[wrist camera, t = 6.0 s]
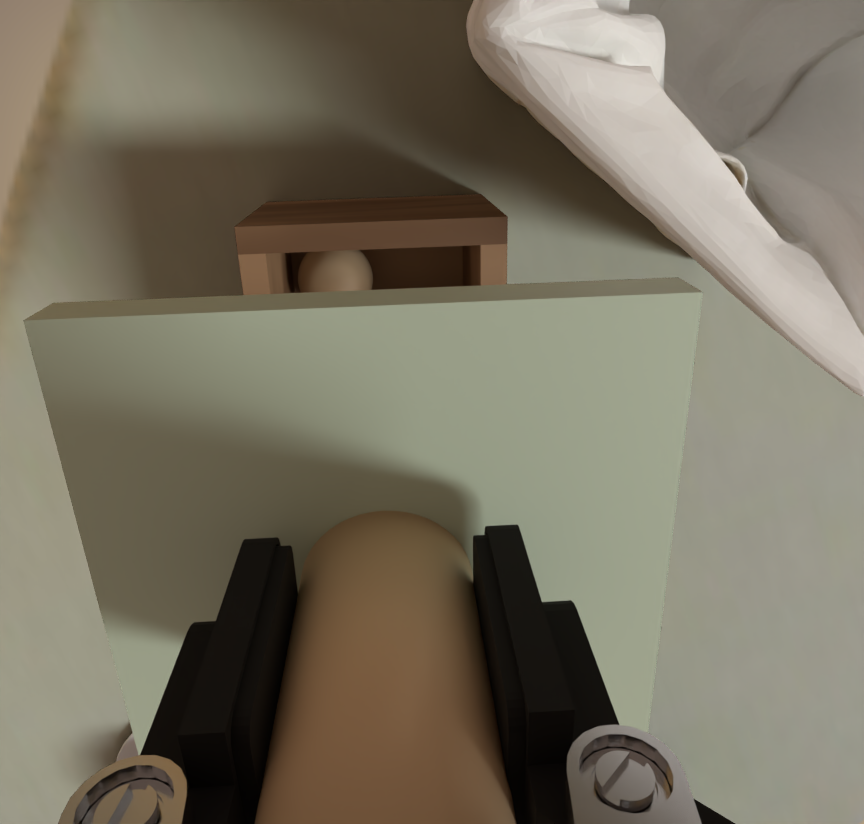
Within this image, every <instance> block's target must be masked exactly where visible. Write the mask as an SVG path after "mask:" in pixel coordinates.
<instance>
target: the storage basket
mask: <svg viewBox="0 0 864 824" xmlns="http://www.w3.org/2000/svg"><path fill="white" fill-rule="evenodd" d="M466 29H467V37H468V44H469V47H470V50H471V53H472V55H473V58H474V59H475V60H476V62H477V63H478V64H479V66H480V67H481V68H482V70H483V71H484V72H485V74H486V75H487V76H488V78H489V79H490V80H491V81H492V82H493V83H494V84H495V85H496V86H498V87H499V88H500V89H501V90H502V91H503V92H504V93H505V94H506V95H508V96H509V97H510V98H511V99H512V100H514V101H515V102H516V103H518V104H520V105H522V106H524V107H526V109H527V111H528V112H529V113H530V114H531V115H532V116H533V118H534V119H535V120H536V121H537V122H538V123H539V124H540V125H542V126H543V127H544V128H545V129H546V130H547V131H549V132H550V133H551V134H552V135H553V136H554V137H556V138H557V139H559V140H560V141H561V142H562V143H563V144H564V145H565V146H566V147H567V148H568V149H569V150H570V151H571V152H572V154H573V155H574V156H575V157H577V158H578V159H579V160H580V161H581V162H582V163H583V164H584V165H585V166H586V167H587V168H589V169H590V170H591V171H593V172H594V173H595V174H596V175H598V176H599V177H600V178H602V179H603V180H605V181H606V182H607V183H608V184H609V185H610V186H611V187H612V188H613V189H614V190H615V191H616V192H617V193H618V194H619V195H620V196H621V197H623V198H624V199H625V200H626V201H627V202H628V203H629V204H630V205H632V206H633V207H634V208H635V209H637V210H638V211H639V212H640V213H641V214H643V215H644V216H645V217H646V218H648V219H649V220H650V221H651V222H652V223H653V224H654V225H655V226H656V228H657V229H658V230H659V232H661V233H662V234H663V235H664V236H665V237H666V238H668V239H669V240H671V241H672V242H673V243H675V244H677V245H678V246H680V247H681V248H682V249H683V250H684V251H686V252H687V253H688V254H689V255H690V256H691V257H692V258H693V259H694V260H696V261H697V262H698V263H699V264H700V265H701V266H702V267H703V268H705V269H706V270H707V271H708V272H709V273H710V274H711V275H712V276H713V277H714V278H715V279H717V280H718V281H719V282H720V283H721V284H722V285H723V286H724V287H725V288H726V289H727V290H728V291H729V292H730V293H732V294H733V295H734V296H735V297H736V298H738V299H739V300H740V301H741V302H742V303H743V304H745V305H746V306H747V307H748V308H749V309H750V310H752V311H753V312H754V313H755V314H756V315H757V316H758V317H760V318H761V319H762V320H763V321H764V322H765V323H766V324H768V325H769V326H770V327H771V328H773V329H774V330H775V331H777V332H778V333H779V334H780V335H782V336H783V337H784V338H785V339H786V340H788V341H789V342H790V343H791V344H793V345H794V346H795V347H796V348H797V349H799V350H800V351H801V352H802V353H803V354H805V355H806V356H807V357H808V358H809V359H811V360H812V361H813V362H815V363H816V364H817V365H819V366H820V367H821V368H823V369H824V370H825V371H826V372H828V373H829V374H830V375H832V376H833V377H834V378H836V379H837V380H838V381H840V382H841V383H842V384H844V385H845V386H846V387H848V388H849V389H850V390H852V391H853V392H854V393H856V394H858V395H860V396H863V397H864V0H473V3H472V5H471V8H470V10H469V13H468V15H467V23H466Z"/></svg>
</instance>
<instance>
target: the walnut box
mask: <svg viewBox="0 0 864 824" xmlns="http://www.w3.org/2000/svg"><path fill="white" fill-rule="evenodd" d="M507 219H508V217H507V216H506V215H505V214H504V213H503V212H501V211H500V210H499V209H498V208H497V207H496V206H494V205H493V204H492V203H491V202H490V201H488V200H487V199H486V198H485V197H484V196H483V195H481V194H473V195H446V196H418V197H391V198H363V199H336V200H308V201H281V202H266V203H265V204H263V205H262V206H261V207H260V208H258V209H257V210H256V211H254V212H253V213H252V214H250V215H249V216H248V217H247V218H245V219H244V220H243V221H241V222H240V223H239V224H238V225H236V226H235V227H234V229H235V236H236V244H237V251H238V259H239V266H240V273H241V281H242V288H243V295H260V294H284V293H301V291H300V288H299V284H298V271H299V266H300V264H301V261H302V259H303V258H304V256H305V255H306V253H307V252H319V251H344V250H360V251H361V252H362V253H363V254H364V255H365V256H366V258H367V259H368V261H369V263H370V266H371V269H372V273H373V286H372V290H382V289H407V288H431V287H456V286H481V285H505V284H507Z"/></svg>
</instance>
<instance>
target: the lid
mask: <svg viewBox="0 0 864 824" xmlns="http://www.w3.org/2000/svg"><path fill="white" fill-rule="evenodd" d="M702 296H703V292H702V291H700V290H699V289H697V288H695V287H693V286H692V285H690V284H688V283H687V282H685V281H683V280H682V279H680V278H678V277H677V278H652V279H628V280H603V281H579V282H554V283H530V284H505V285H481V286H456V287H431V288H407V289H382V290H358V291H333V292H309V293H284V294H260V295H235V296H211V297H186V298H162V299H137V300H112V301H88V302H63V303H52V304H51V305H49V306H47V307H46V308H44V309H42V310H40V311H39V312H37V313H35V314H34V315H32V316H30V317H28V318H27V319H25V320H23V321H24V325H25V328H26V332H27V336H28V340H29V343H30V347H31V351H32V355H33V359H34V362H35V366H36V370H37V374H38V377H39V381H40V385H41V389H42V393H43V396H44V400H45V404H46V408H47V411H48V415H49V419H50V423H51V427H52V430H53V434H54V438H55V442H56V445H57V449H58V453H59V457H60V461H61V464H62V468H63V472H64V476H65V479H66V483H67V487H68V491H69V495H70V498H71V502H72V506H73V510H74V513H75V517H76V521H77V525H78V529H79V532H80V536H81V540H82V544H83V547H84V551H85V555H86V559H87V562H88V566H89V570H90V574H91V578H92V581H93V585H94V589H95V593H96V596H97V600H98V604H99V608H100V612H101V615H102V619H103V623H104V627H105V630H106V634H107V638H108V642H109V646H110V649H111V653H112V657H113V661H114V664H115V668H116V672H117V676H118V680H119V683H120V687H121V691H122V695H123V698H124V702H125V706H126V710H127V714H128V717H129V721H130V725H131V729H132V732H133V736H134V740H135V744H136V748H137V751H138V755H140V754H141V751H142V749H143V746H144V743H145V741H146V738H147V735H148V733H149V730H150V728H151V725H152V722H153V720H154V717H155V715H156V712H157V709H158V707H159V704H160V702H161V699H162V696H163V694H164V691H165V688H166V686H167V683H168V681H169V678H170V675H171V673H172V670H173V668H174V665H175V662H176V660H177V657H178V655H179V652H180V649H181V647H182V644H183V641H184V639H185V636H186V634H187V631H188V629H189V627H190V626H191V625H192V624H193V623H194V622H207V621H216V619H217V616H218V613H219V610H220V607H221V604H222V601H223V598H224V595H225V592H226V589H227V586H228V583H229V580H230V577H231V574H232V571H233V568H234V565H235V562H236V559H237V556H238V553H239V550H240V547H241V544H242V542H243V540H244V539H255V538H274V537H278V538H279V541H280V544H281V546H288V545H291V547H292V551H293V558H294V565H295V573H296V581H297V589H298V597H297V602H296V607H295V613H294V618H293V623H292V628H291V634H290V639H289V644H288V650H287V655H286V660H285V666H284V671H283V676H282V682H281V687H280V692H279V698H278V703H277V708H276V713H275V719H274V724H273V729H272V735H271V740H270V745H269V751H268V756H267V761H266V767H265V772H264V777H263V782H262V788H261V793H260V798H259V802H258V808H257V813H256V818H255V824H517V823H516V818H515V812H514V806H513V801H512V795H511V791H510V787H509V783H508V781H507V776H506V770H505V764H504V759H503V753H502V747H501V741H500V736H499V730H498V724H497V718H496V713H495V707H494V701H493V695H492V690H491V684H490V678H489V672H488V666H487V661H486V655H485V649H484V643H483V638H482V632H481V626H480V620H479V615H478V609H477V603H476V597H475V592H474V586H473V536H474V535H484V532H485V526H497V525H516V524H517V525H518V526H519V528H520V532H521V535H522V538H523V541H524V545H525V548H526V551H527V555H528V558H529V561H530V564H531V568H532V571H533V574H534V578H535V581H536V584H537V587H538V591H539V594H540V597H541V601H542V602H551V601H568V600H571V601H572V602H573V603H574V604H575V606H576V608H577V611H578V614H579V616H580V619H581V622H582V624H583V627H584V630H585V633H586V635H587V638H588V641H589V643H590V646H591V649H592V652H593V654H594V657H595V660H596V662H597V665H598V668H599V671H600V673H601V676H602V679H603V681H604V684H605V687H606V690H607V692H608V695H609V698H610V700H611V703H612V706H613V708H614V711H615V714H616V717H617V719H618V722H619V725H622V726H630V727H634V728H636V729H639V730H642V731H644V732H647V733H648V728H649V720H650V712H651V704H652V696H653V688H654V680H655V672H656V664H657V656H658V648H659V640H660V632H661V624H662V616H663V608H664V600H665V592H666V584H667V576H668V568H669V560H670V552H671V544H672V536H673V528H674V520H675V512H676V504H677V496H678V488H679V480H680V472H681V464H682V456H683V448H684V440H685V432H686V424H687V416H688V408H689V400H690V392H691V384H692V376H693V368H694V360H695V352H696V344H697V336H698V328H699V320H700V312H701V304H702Z"/></svg>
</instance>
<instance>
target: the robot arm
mask: <svg viewBox="0 0 864 824" xmlns="http://www.w3.org/2000/svg"><path fill="white" fill-rule="evenodd" d="M473 586H474V592H475V597H476V603H477V609H478V615H479V620H480V626H481V632H482V638H483V643H484V649H485V655H486V661H487V666H488V672H489V678H490V684H491V690H492V695H493V701H494V707H495V713H496V718H497V724H498V730H499V736H500V741H501V747H502V753H503V759H504V764H505V770H506V776H507V781H508V783H509V787H510V791H511V795H512V801H513V806H514V812H515V818H516V823H517V824H735V823H733V822H731V821H730V820H728V819H726V818H725V817H723V816H721V815H720V814H718V813H716V812H715V811H713V810H712V809H710V808H708V807H707V806H705V805H703V804H702V803H700V802H698V801H697V800H695V799H694V798H693V795H692V792H691V789H690V786H689V783H688V780H687V777H686V774H685V771H684V770H683V768H682V766H681V764H680V762H679V760H678V758H677V756H676V755H675V754H674V753H673V752H672V751H671V750H670V749H669V748H668V747H667V746H666V744H665V743H663V742H662V741H660V740H658V739H657V738H655V737H654V736H652V735H651V734H649V733H647V732H644V731H642V730H639V729H636V728H634V727H630V726H622V725H619V722H618V719H617V717H616V714H615V711H614V708H613V706H612V703H611V700H610V698H609V695H608V692H607V690H606V687H605V684H604V681H603V679H602V676H601V673H600V671H599V668H598V665H597V662H596V660H595V657H594V654H593V652H592V649H591V646H590V643H589V641H588V638H587V635H586V633H585V630H584V627H583V624H582V622H581V619H580V616H579V614H578V611H577V608H576V606H575V604H574V603H573V602H572V601H571V600H568V601H551V602H542V601H541V597H540V594H539V591H538V587H537V584H536V581H535V578H534V574H533V571H532V568H531V564H530V561H529V558H528V555H527V551H526V548H525V545H524V541H523V538H522V535H521V532H520V528H519V526H518V525H517V524H516V525H497V526H485V532H484V535H474V536H473ZM297 597H298V589H297V581H296V573H295V565H294V558H293V551H292V547H291V545H288V546H281V544H280V541H279V538H278V537H274V538H255V539H244V540H243V542H242V544H241V547H240V550H239V553H238V556H237V559H236V562H235V565H234V568H233V571H232V574H231V577H230V580H229V583H228V586H227V589H226V592H225V595H224V598H223V601H222V604H221V607H220V610H219V613H218V616H217V619H216V621H207V622H194V623H193V624H192V625H191V626H190V627H189V629H188V631H187V634H186V636H185V639H184V641H183V644H182V647H181V649H180V652H179V655H178V657H177V660H176V662H175V665H174V668H173V670H172V673H171V675H170V678H169V681H168V683H167V686H166V688H165V691H164V694H163V696H162V699H161V702H160V704H159V707H158V709H157V712H156V715H155V717H154V720H153V722H152V725H151V728H150V730H149V733H148V735H147V738H146V741H145V743H144V746H143V749H142V751H141V754H140V755H138V756H134V757H130V758H126V759H122V760H119V761H117V762H115V763H113V764H111V765H109V766H107V767H105V768H103V769H101V770H99V771H98V772H97V773H95V774H94V775H93V776H91V777H90V778H89V779H87V780H86V781H85V782H84V783H83V784H82V785H81V786H80V787H79V788H78V789H77V791H76V792H75V793H74V794H73V795H72V796H71V797H70V799H69V801H68V803H67V805H66V807H65V809H64V811H63V812H62V814H61V817H60V820H59V823H58V824H255V818H256V813H257V808H258V802H259V798H260V793H261V788H262V782H263V777H264V772H265V767H266V761H267V756H268V751H269V745H270V740H271V735H272V729H273V724H274V719H275V713H276V708H277V703H278V698H279V692H280V687H281V682H282V676H283V671H284V666H285V660H286V655H287V650H288V644H289V639H290V634H291V628H292V623H293V618H294V613H295V607H296V602H297Z"/></svg>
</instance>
